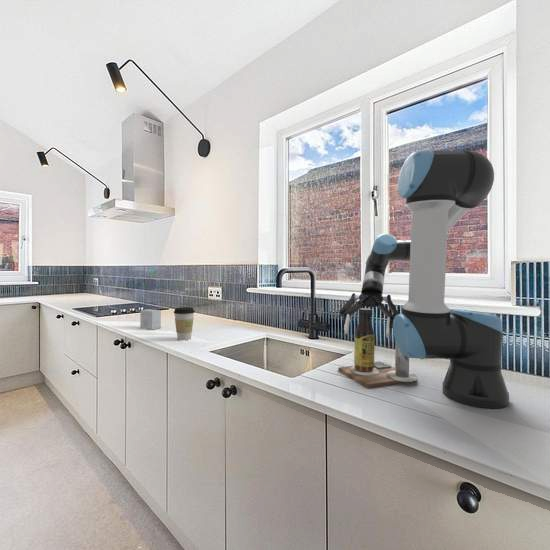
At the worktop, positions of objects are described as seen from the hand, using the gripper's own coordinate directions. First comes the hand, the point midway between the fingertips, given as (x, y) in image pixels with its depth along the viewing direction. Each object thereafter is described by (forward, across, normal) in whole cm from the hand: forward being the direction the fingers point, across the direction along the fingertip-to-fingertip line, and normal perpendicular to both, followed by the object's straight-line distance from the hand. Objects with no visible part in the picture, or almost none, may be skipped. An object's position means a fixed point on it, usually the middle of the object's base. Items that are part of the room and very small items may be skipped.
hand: (365, 333), depth 104 cm
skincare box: (-6, +124, -26) cm, 127 cm away
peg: (+11, -12, -5) cm, 17 cm away
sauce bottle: (+11, 0, -5) cm, 12 cm away
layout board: (+12, -5, -6) cm, 14 cm away
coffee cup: (+3, +87, -16) cm, 89 cm away
